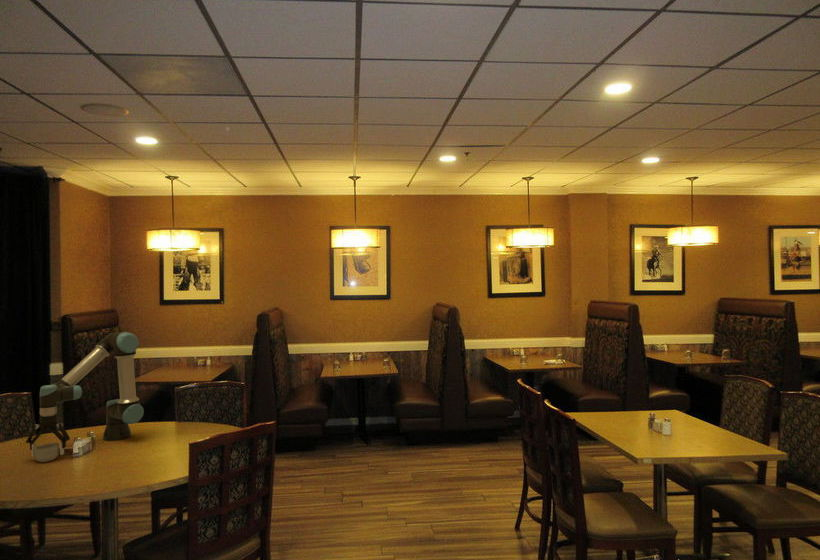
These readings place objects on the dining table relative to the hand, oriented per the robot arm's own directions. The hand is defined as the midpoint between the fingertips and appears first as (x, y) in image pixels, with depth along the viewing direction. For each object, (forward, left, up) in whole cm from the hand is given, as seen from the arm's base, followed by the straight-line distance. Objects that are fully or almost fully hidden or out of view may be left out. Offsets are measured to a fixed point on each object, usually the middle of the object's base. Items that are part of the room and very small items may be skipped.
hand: (48, 455), depth 284 cm
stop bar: (0, -9, -2) cm, 9 cm away
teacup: (0, 0, -3) cm, 3 cm away
